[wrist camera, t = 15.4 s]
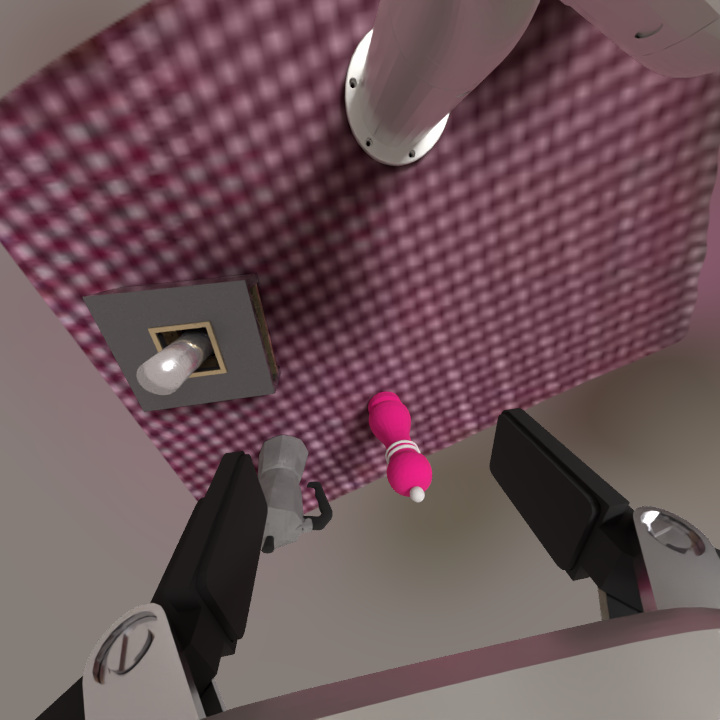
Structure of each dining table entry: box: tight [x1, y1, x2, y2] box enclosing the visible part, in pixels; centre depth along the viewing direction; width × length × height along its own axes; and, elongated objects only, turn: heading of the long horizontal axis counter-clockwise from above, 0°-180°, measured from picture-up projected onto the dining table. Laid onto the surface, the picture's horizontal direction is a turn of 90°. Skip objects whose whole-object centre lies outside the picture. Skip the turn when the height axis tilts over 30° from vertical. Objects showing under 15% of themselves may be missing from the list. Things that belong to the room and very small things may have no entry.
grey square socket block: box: [83, 273, 281, 412], centre depth 37 cm, size 18×16×7 cm
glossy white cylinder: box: [136, 327, 214, 395], centre depth 34 cm, size 4×4×14 cm
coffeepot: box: [258, 435, 332, 553], centre depth 44 cm, size 15×9×18 cm, turn 87°
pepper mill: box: [368, 392, 432, 502], centre depth 41 cm, size 7×7×20 cm
